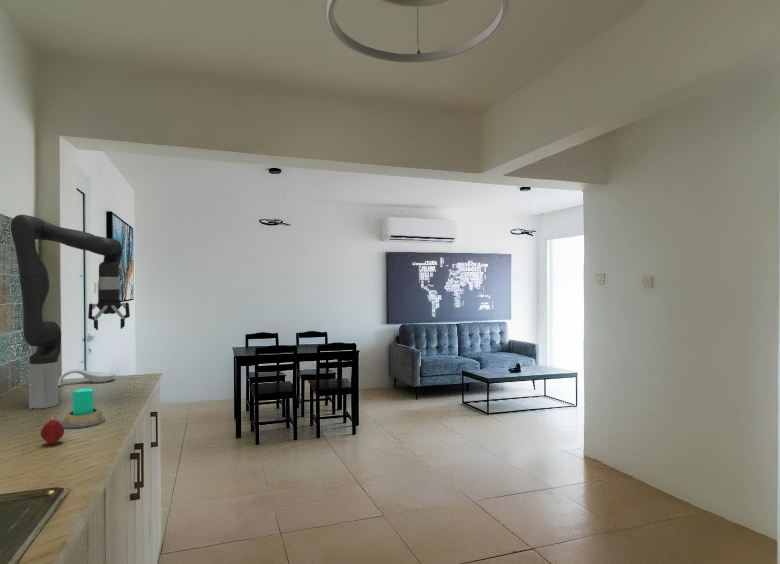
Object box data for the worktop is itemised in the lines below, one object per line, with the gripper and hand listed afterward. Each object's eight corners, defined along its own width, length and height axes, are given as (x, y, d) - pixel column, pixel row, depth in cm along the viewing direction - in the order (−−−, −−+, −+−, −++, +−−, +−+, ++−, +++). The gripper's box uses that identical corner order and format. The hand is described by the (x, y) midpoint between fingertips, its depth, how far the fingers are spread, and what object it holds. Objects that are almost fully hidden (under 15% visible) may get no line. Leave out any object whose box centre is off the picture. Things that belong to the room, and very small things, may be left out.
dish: (60, 431, 160) (60, 428, 160) (61, 421, 171) (61, 418, 171) (106, 424, 167) (106, 422, 167) (104, 416, 178) (104, 413, 178)
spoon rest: (113, 378, 247) (113, 364, 247) (117, 382, 237) (117, 367, 237) (57, 384, 233) (57, 369, 233) (58, 389, 223) (58, 373, 223)
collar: (64, 427, 162) (63, 418, 162) (64, 419, 171) (64, 410, 171) (102, 421, 168) (102, 413, 168) (101, 414, 177) (101, 406, 177)
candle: (78, 423, 165) (77, 388, 165) (69, 421, 168) (69, 386, 168) (96, 419, 170) (96, 385, 170) (88, 417, 173) (87, 383, 173)
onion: (68, 442, 150) (68, 416, 150) (50, 448, 144) (50, 421, 144) (55, 439, 152) (55, 414, 152) (36, 445, 146) (36, 419, 146)
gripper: (128, 288, 201) (128, 327, 201) (87, 288, 193) (88, 329, 194) (130, 288, 195) (130, 328, 195) (88, 288, 187) (88, 331, 187)
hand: (109, 329), depth 194 cm, fingers open, 8 cm apart
